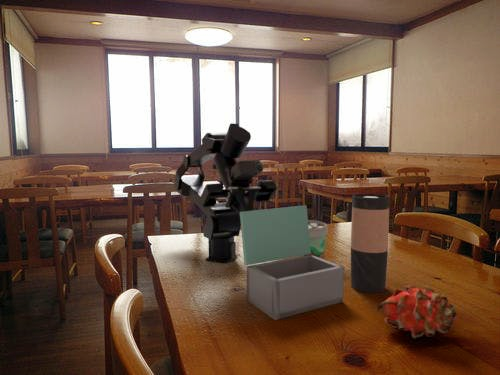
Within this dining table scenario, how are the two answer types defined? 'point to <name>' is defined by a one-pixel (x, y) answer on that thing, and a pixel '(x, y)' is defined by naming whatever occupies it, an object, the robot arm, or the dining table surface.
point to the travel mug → (369, 242)
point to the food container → (317, 238)
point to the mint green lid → (274, 234)
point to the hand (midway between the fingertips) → (252, 221)
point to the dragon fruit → (418, 311)
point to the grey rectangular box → (294, 285)
